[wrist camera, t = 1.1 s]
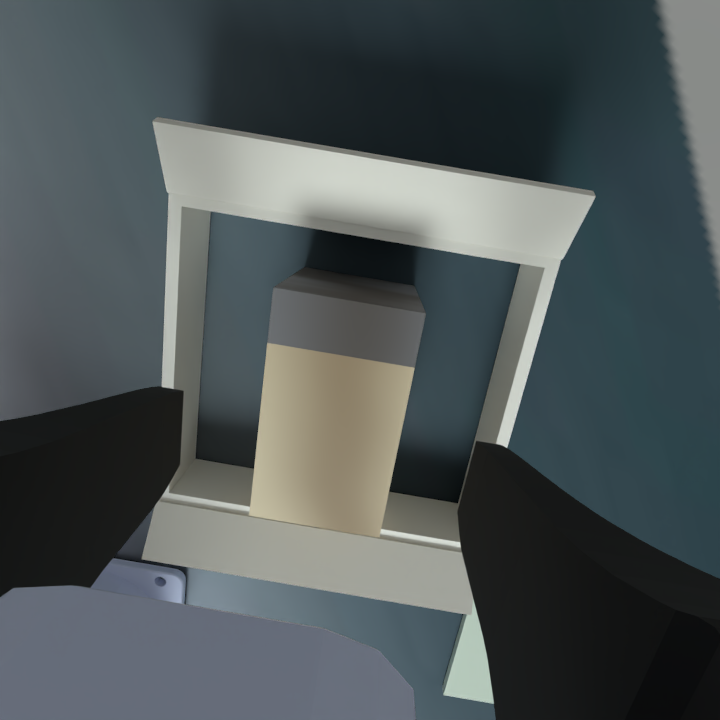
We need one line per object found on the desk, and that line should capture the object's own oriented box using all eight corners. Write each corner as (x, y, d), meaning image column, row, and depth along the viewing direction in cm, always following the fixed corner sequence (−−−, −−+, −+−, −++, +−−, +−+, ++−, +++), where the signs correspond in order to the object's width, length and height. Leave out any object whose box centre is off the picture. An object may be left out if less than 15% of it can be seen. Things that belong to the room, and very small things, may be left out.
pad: (442, 686, 22) (443, 694, 22) (476, 568, 20) (478, 574, 20) (587, 711, 22) (590, 719, 22) (636, 595, 20) (641, 602, 20)
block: (283, 440, 19) (249, 515, 14) (305, 266, 17) (273, 287, 12) (380, 456, 19) (379, 537, 14) (414, 285, 17) (426, 313, 12)
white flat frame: (183, 502, 20) (141, 562, 17) (203, 137, 16) (152, 115, 12) (455, 548, 20) (470, 618, 17) (550, 195, 16) (597, 190, 12)
